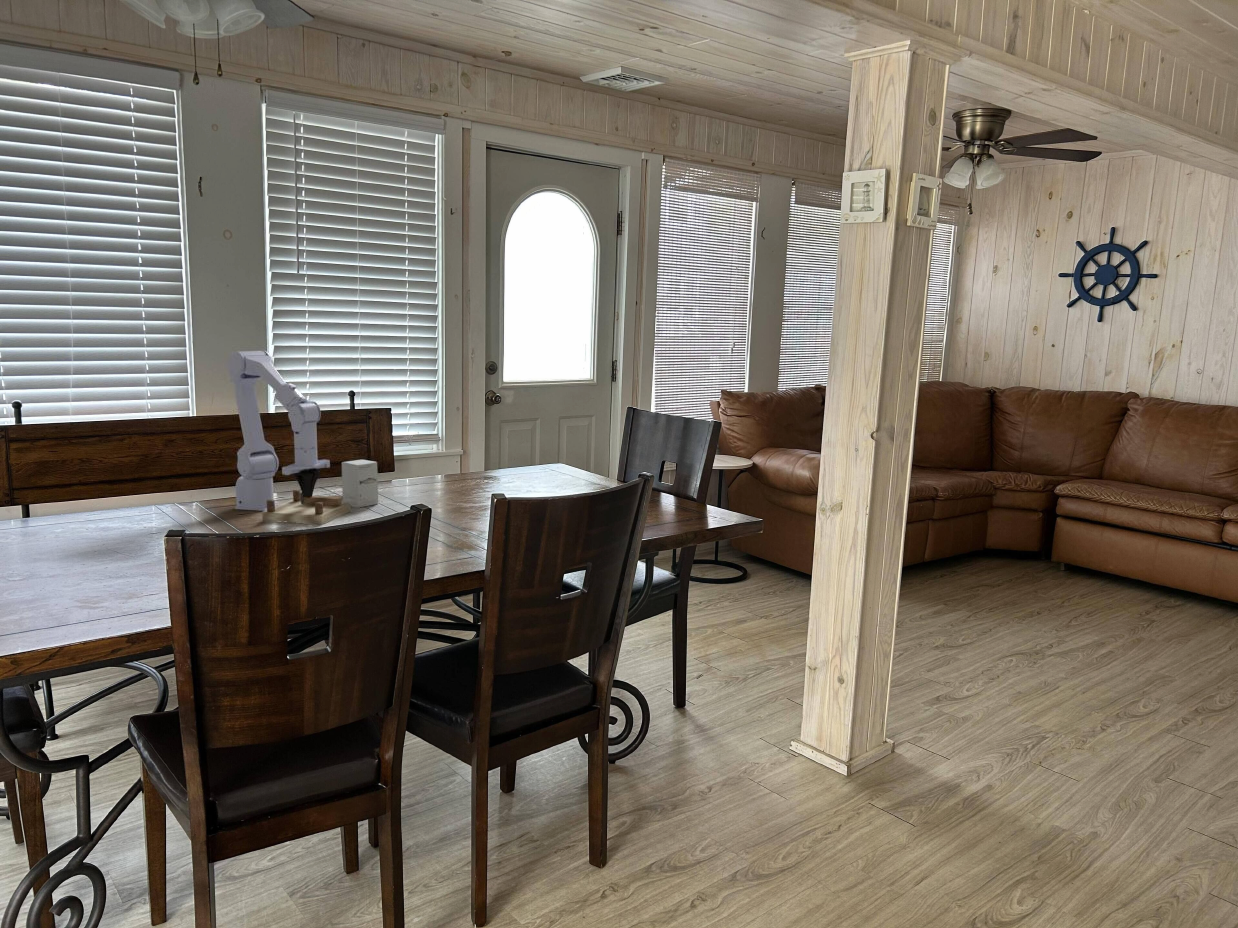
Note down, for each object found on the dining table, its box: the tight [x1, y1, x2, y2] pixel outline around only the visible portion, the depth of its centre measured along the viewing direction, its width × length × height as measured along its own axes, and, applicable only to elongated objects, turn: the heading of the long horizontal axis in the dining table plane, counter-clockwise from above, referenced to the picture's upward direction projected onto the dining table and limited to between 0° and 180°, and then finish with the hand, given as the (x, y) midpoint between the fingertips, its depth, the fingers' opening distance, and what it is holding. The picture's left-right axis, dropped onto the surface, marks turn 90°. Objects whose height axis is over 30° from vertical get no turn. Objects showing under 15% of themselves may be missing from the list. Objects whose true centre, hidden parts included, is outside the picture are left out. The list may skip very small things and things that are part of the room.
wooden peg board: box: [261, 489, 351, 526], centre depth 248 cm, size 17×16×6 cm
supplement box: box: [341, 459, 379, 509], centre depth 262 cm, size 7×7×13 cm
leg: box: [300, 491, 342, 506], centre depth 250 cm, size 11×2×3 cm, turn 82°
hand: (307, 497), depth 245 cm, fingers closed
